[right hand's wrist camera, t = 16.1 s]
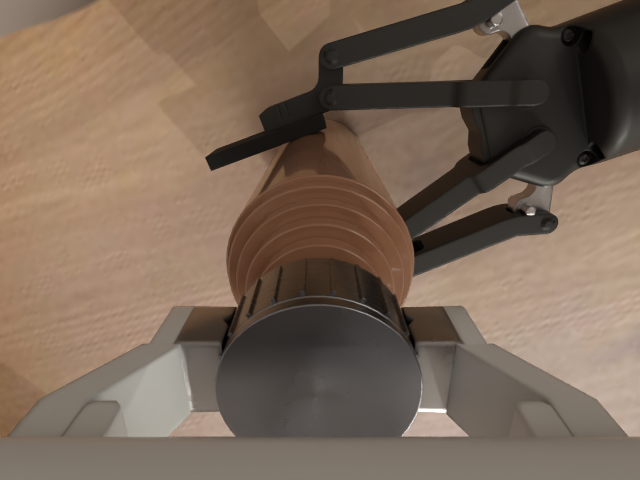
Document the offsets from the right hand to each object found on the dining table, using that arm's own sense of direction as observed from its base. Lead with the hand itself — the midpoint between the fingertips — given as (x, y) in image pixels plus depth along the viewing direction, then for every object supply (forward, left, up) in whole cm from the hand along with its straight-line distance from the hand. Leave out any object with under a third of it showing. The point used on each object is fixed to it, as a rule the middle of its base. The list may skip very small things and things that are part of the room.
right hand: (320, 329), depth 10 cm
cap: (0, 0, +2) cm, 2 cm away
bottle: (0, 0, -21) cm, 21 cm away
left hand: (-5, +2, -14) cm, 15 cm away
